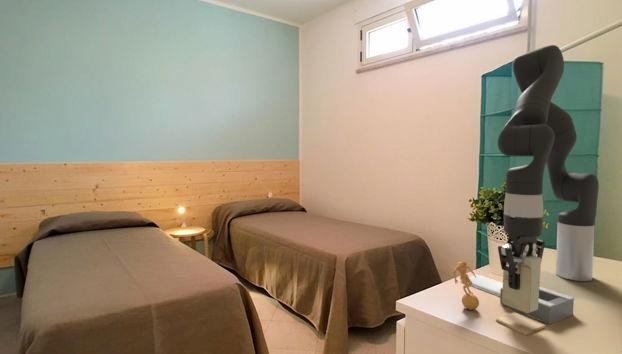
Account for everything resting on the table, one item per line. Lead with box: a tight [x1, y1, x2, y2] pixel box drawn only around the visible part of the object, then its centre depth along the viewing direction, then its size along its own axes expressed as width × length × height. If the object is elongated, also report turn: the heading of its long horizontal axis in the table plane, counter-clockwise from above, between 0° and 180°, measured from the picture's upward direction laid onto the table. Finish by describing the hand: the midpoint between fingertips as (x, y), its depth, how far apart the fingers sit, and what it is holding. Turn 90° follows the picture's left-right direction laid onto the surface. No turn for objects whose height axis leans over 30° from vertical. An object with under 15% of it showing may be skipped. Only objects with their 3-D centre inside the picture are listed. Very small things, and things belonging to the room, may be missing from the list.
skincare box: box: [502, 256, 542, 313], centre depth 77 cm, size 6×4×12 cm
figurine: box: [452, 260, 480, 311], centre depth 86 cm, size 8×6×12 cm
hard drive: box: [460, 274, 503, 297], centre depth 100 cm, size 2×8×12 cm
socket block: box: [499, 285, 575, 325], centre depth 85 cm, size 10×12×4 cm
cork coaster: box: [495, 311, 546, 336], centre depth 78 cm, size 7×7×1 cm
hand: (520, 286), depth 77 cm, fingers closed on skincare box, 4 cm apart
